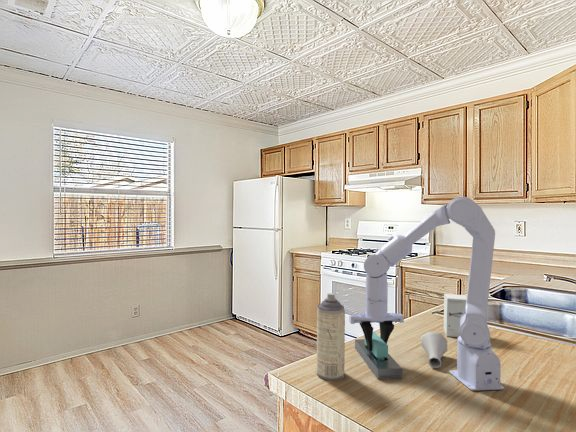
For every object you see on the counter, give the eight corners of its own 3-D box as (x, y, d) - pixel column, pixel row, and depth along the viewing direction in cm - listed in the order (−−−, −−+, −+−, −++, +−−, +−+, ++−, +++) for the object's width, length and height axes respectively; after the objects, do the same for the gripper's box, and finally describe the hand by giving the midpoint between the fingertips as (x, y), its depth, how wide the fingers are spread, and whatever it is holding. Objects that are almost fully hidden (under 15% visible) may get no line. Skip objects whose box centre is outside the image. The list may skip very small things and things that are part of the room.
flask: (443, 328, 100) (444, 348, 91) (451, 352, 101) (454, 373, 91) (416, 333, 103) (416, 352, 94) (425, 355, 103) (425, 377, 94)
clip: (387, 368, 92) (388, 345, 92) (376, 369, 92) (376, 345, 92) (374, 353, 102) (375, 332, 102) (364, 354, 102) (364, 332, 102)
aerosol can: (349, 377, 88) (350, 295, 87) (325, 382, 85) (326, 298, 84) (334, 366, 94) (335, 289, 94) (311, 371, 91) (312, 292, 91)
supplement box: (446, 336, 116) (446, 298, 116) (443, 329, 123) (443, 293, 123) (471, 339, 114) (471, 299, 114) (466, 331, 121) (467, 294, 121)
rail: (402, 378, 87) (402, 368, 87) (377, 379, 87) (378, 369, 86) (374, 347, 107) (374, 339, 107) (354, 348, 106) (354, 339, 106)
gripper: (396, 294, 101) (396, 342, 101) (346, 295, 100) (346, 344, 100) (407, 301, 94) (406, 352, 94) (353, 302, 93) (352, 354, 93)
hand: (376, 349), depth 97 cm, fingers open, 3 cm apart
